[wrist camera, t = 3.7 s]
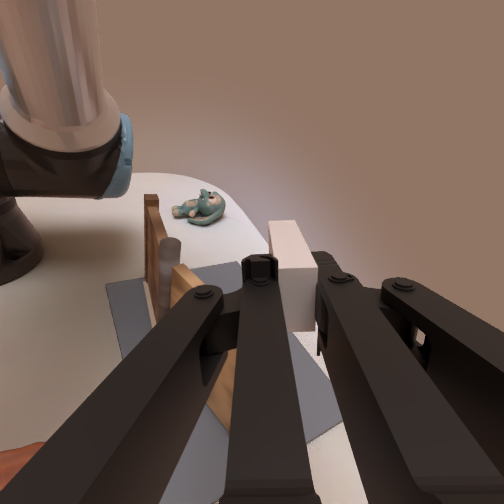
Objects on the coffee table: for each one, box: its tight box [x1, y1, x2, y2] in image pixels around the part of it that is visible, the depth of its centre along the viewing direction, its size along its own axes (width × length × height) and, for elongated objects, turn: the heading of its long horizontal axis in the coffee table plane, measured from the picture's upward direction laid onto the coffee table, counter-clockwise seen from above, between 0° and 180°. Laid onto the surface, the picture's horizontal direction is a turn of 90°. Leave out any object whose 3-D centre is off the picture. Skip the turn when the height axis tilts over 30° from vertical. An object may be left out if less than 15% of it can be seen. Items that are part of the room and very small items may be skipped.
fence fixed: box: [144, 194, 181, 324], centre depth 36 cm, size 14×2×16 cm, turn 24°
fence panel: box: [170, 264, 237, 436], centre depth 28 cm, size 13×2×14 cm, turn 44°
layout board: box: [106, 261, 343, 504], centre depth 38 cm, size 30×22×1 cm
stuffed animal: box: [172, 189, 225, 225], centre depth 64 cm, size 11×7×12 cm
